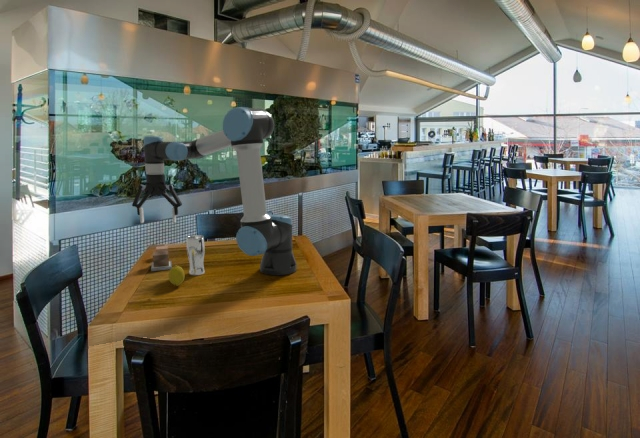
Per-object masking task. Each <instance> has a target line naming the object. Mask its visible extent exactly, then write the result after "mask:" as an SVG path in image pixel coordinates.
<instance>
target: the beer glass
mask: <svg viewBox="0 0 640 438" xmlns="http://www.w3.org/2000/svg"><path fill="white" fill-rule="evenodd" d="M205 249H206V248H205V237H204V235H200V234H195V235H194V234H193V235H188V236H186V253H187V258H188V262H189V271H188V274H189V275H190V276H200V275H204V274H205V273H206V272H205V271H206V270H205V265H204V262H205V261H204V259H205V251H206V250H205Z"/></svg>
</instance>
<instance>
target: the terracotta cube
mask: <svg viewBox="0 0 640 438" xmlns="http://www.w3.org/2000/svg"><path fill="white" fill-rule="evenodd" d="M157 251H168V252H169V246H168V245H162V246H156V247H155V252H157ZM168 258H169V259H170V255H169V253H168Z"/></svg>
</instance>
